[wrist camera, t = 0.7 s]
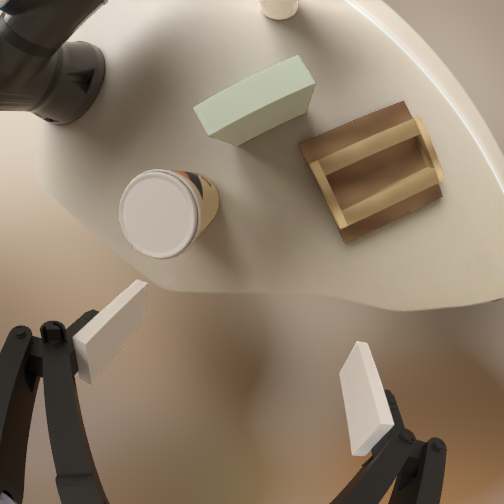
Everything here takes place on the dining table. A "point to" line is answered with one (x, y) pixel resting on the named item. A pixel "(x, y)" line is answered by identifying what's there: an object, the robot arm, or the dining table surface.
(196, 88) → the dining table surface
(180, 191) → the coffee cup
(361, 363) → the robot arm
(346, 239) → the track board
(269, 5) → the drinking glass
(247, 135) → the door panel
